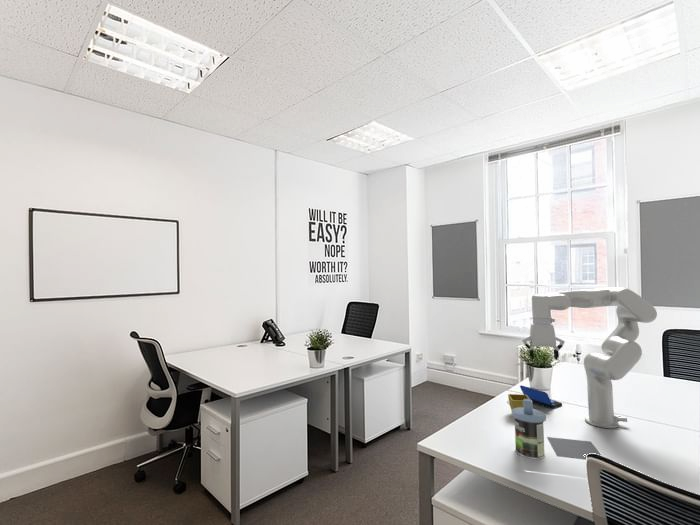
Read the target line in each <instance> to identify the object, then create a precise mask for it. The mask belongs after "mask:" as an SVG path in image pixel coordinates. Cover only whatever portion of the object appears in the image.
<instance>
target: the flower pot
mask: <svg viewBox="0 0 700 525" xmlns="http://www.w3.org/2000/svg"><path fill="white" fill-rule="evenodd" d="M507 397H508V402H509V404H508V405H509V407H510V409H511V411H512V409H514V408H519V407H524V406H523V399H529V397H528V396H527V395H524V394H517V393H516V394H515V393H514V394H513V393H508V394H507Z"/></svg>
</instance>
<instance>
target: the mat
mask: <svg viewBox="0 0 700 525" xmlns="http://www.w3.org/2000/svg"><path fill="white" fill-rule="evenodd" d="M546 438H547V441H548V442H549V444H550V446H551V448H552V449H553V451H554V453H555V455H556V457H561V458H568V459H569V458H570V459H577V460H579V459H580V460H586V455H587V454H589V453H596V454H599V455H602V454H601V453H600V451H599V449H598V448H596V445H594V443H593V442H592V441H590V440H589V441H588V440H581V439H572V438H563V437H562V438H560V437H551V436H547V437H546ZM584 454H586V455H584ZM583 455H584V456H585V457H584V456H583Z"/></svg>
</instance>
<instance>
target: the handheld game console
mask: <svg viewBox="0 0 700 525" xmlns="http://www.w3.org/2000/svg"><path fill="white" fill-rule="evenodd" d="M519 389H520V390H521V392H522V395H527V396H528V397H529V399H530V400H532V403H533V404H538V405H540V406H543V407H545V408H549V409H552V410H553V409H556V408H558V407H562V405H563V403H562V402H559V401H557V400H554V399H551V398H550V396H549V394H548V393H547V392H545V391H543V390H539V389H535V388H532V387H530V386H529V387H528V386H525V385H519Z"/></svg>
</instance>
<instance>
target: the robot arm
mask: <svg viewBox="0 0 700 525" xmlns="http://www.w3.org/2000/svg"><path fill="white" fill-rule="evenodd" d="M603 307H616V310H615V312H616V317H617V321H618V322H617V326H616V327H615V329H614V330H613V331H612V332H611V333H610V334H609V335H608V337H607V338H606V339H605V340H604V341H603V342H602V344H601V350H602V352H603V354H602V353H599V352H590V353H588V354H587V355H585V357H584V358H583V368H584V371H585V376H586V383H587V384H586V385H587V386H586V389H587V407H588V408H587V409H588V414H587V415H586V416H585V417H584V421H585V422H586V423H588V424H589V425H592V426H593V427H598V428H602V429H617V428H619V426H620V424H619V422H623V423H627V422H628V418H627V417H626V416H622V415H620V414H619V415H616V414H615V411H614V392H613V390H614V389H613V383H612V381H620V380H622V379H623V378H624V377H625V376H626V375H627V374H628V373H629V372H630V371H631V370H632V369H633V368H634V367H635V366H636V364H637V363H638V362H639V361H640V360H641V357H642V355H643V350H642V347H641V345H640V344H639V343H637V342H636V340H637V339H638V338H639V334H640V328H639V324H638V323H643V324H645V323H646V324H648V323H652V322H654V321H655V320H656V319H657V317H658V312H657V309H656V308H655V307H654V306H653V305H652V304H651V303H650V302H648V301H647V300H646V299H645V298H643V297H642V296H641V295H639V294H637V293H636V292H634V291H633V290H631V289H629V288H626V287H603V288H593V289H580V290H578V289H577V290H570V291H569V290H567V291H556V292H555V291H554V292H547V293H544V294H534V295H532V296H531V311H532V323H531V324H530V329H529V336H528V337H525V338H523V339H522V343H523V345H524V346H525V347H526V348H527V349H528V350H529V351H528V352H529V357H530V359H532V360H535V355H534V353H535V352H534V348H535V347H541V348H542V347H544V348H545V347H547V348H548V347H549V348H550V347H551V348H553V358H554V359H555V360H558V359H559V351H560V350H561V349H562V348H563V347H564V345H565V340H564V339H562V338H558V337H557V336H556V332H555V326H554V325H553V323H555V322H556V319H555V318H552V311H566V310H568V309H570V308H580V309H591V308H593V309H594V308H603ZM527 342H530V344H528V343H527ZM557 342H559V344H558V345H557Z"/></svg>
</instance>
